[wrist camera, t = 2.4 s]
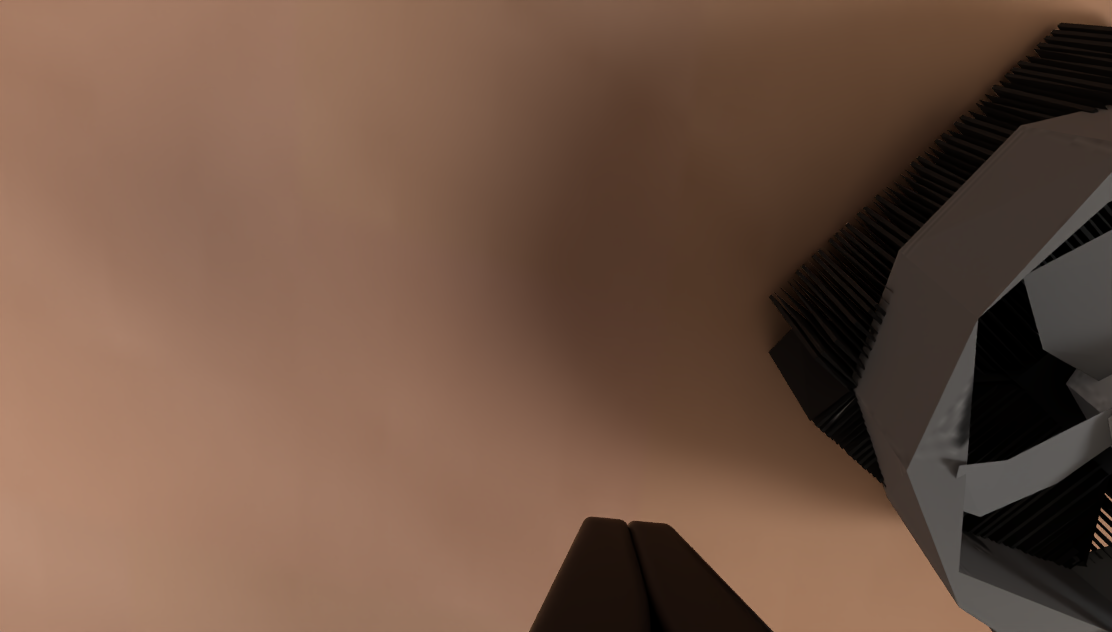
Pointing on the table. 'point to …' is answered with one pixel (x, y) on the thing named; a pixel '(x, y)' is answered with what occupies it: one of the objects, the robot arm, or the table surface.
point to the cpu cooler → (987, 346)
